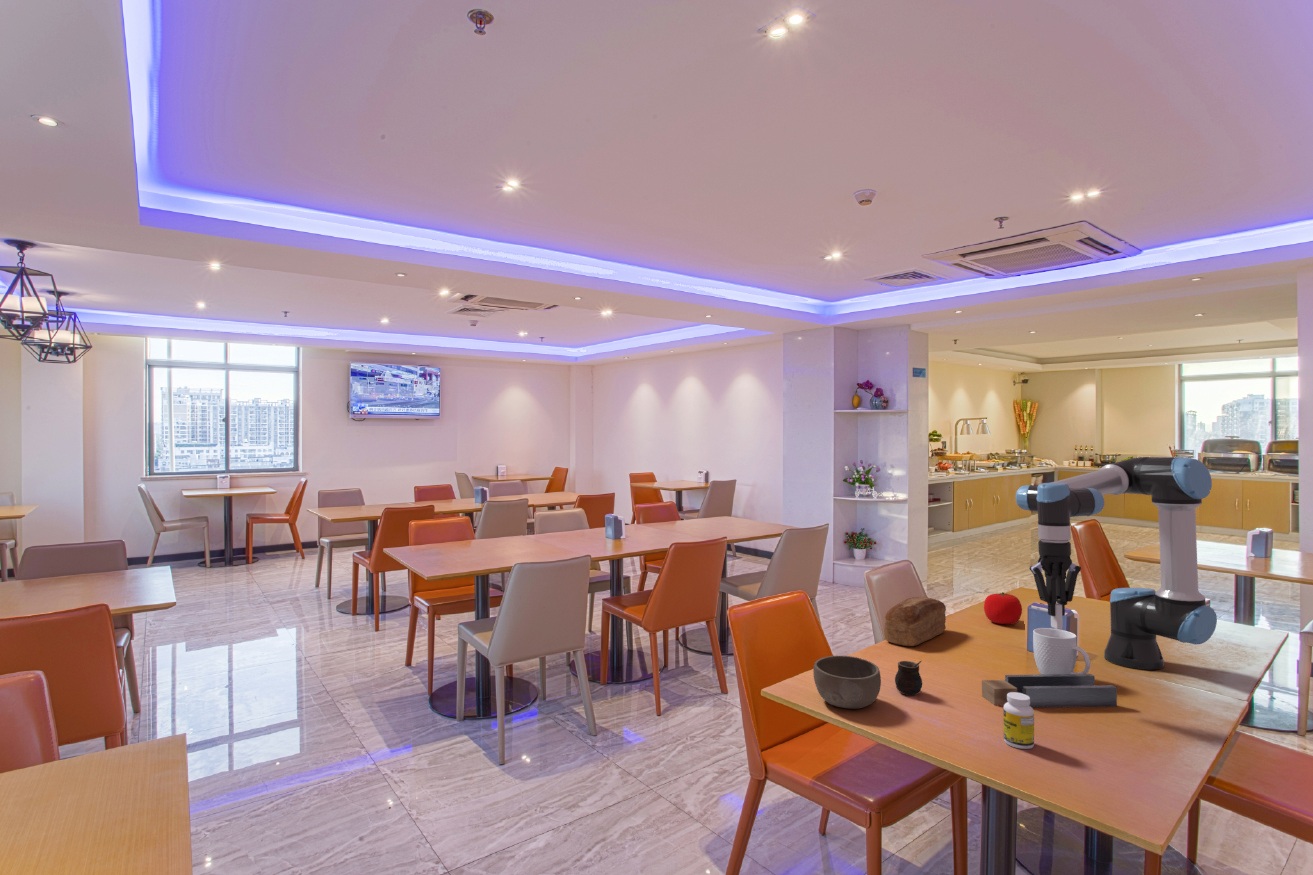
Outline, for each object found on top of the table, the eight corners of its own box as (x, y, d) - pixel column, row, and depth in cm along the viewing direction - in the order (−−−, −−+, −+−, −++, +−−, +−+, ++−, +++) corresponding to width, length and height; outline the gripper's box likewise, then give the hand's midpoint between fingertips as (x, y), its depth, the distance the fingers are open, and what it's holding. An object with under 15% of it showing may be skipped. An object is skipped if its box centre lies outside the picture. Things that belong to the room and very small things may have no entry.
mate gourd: (901, 685, 187) (901, 650, 187) (927, 693, 182) (928, 657, 182) (890, 692, 182) (890, 656, 182) (916, 700, 177) (917, 663, 177)
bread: (951, 632, 240) (950, 595, 240) (913, 651, 219) (913, 610, 219) (918, 625, 249) (918, 590, 249) (879, 643, 228) (879, 604, 228)
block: (1004, 696, 179) (1004, 680, 179) (1017, 705, 173) (1017, 688, 173) (982, 696, 179) (981, 680, 179) (994, 705, 173) (994, 688, 173)
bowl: (846, 721, 164) (845, 681, 164) (799, 697, 179) (799, 660, 180) (895, 708, 172) (895, 669, 172) (847, 686, 187) (846, 651, 188)
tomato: (991, 627, 246) (991, 596, 246) (979, 617, 259) (979, 588, 259) (1028, 628, 243) (1027, 597, 244) (1014, 618, 257) (1014, 589, 257)
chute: (1091, 692, 182) (1090, 674, 182) (1116, 706, 172) (1116, 687, 172) (1005, 693, 181) (1005, 674, 181) (1026, 707, 171) (1026, 688, 171)
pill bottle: (997, 738, 154) (997, 691, 154) (1022, 737, 154) (1022, 690, 154) (1014, 750, 148) (1014, 701, 148) (1040, 749, 148) (1040, 700, 148)
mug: (1098, 683, 188) (1098, 637, 189) (1080, 691, 182) (1080, 644, 183) (1044, 668, 201) (1044, 625, 201) (1026, 675, 195) (1025, 631, 195)
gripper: (1069, 537, 181) (1071, 623, 181) (1022, 539, 181) (1024, 624, 181) (1087, 541, 173) (1090, 631, 173) (1038, 543, 173) (1041, 632, 173)
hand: (1056, 627), depth 177 cm, fingers closed
